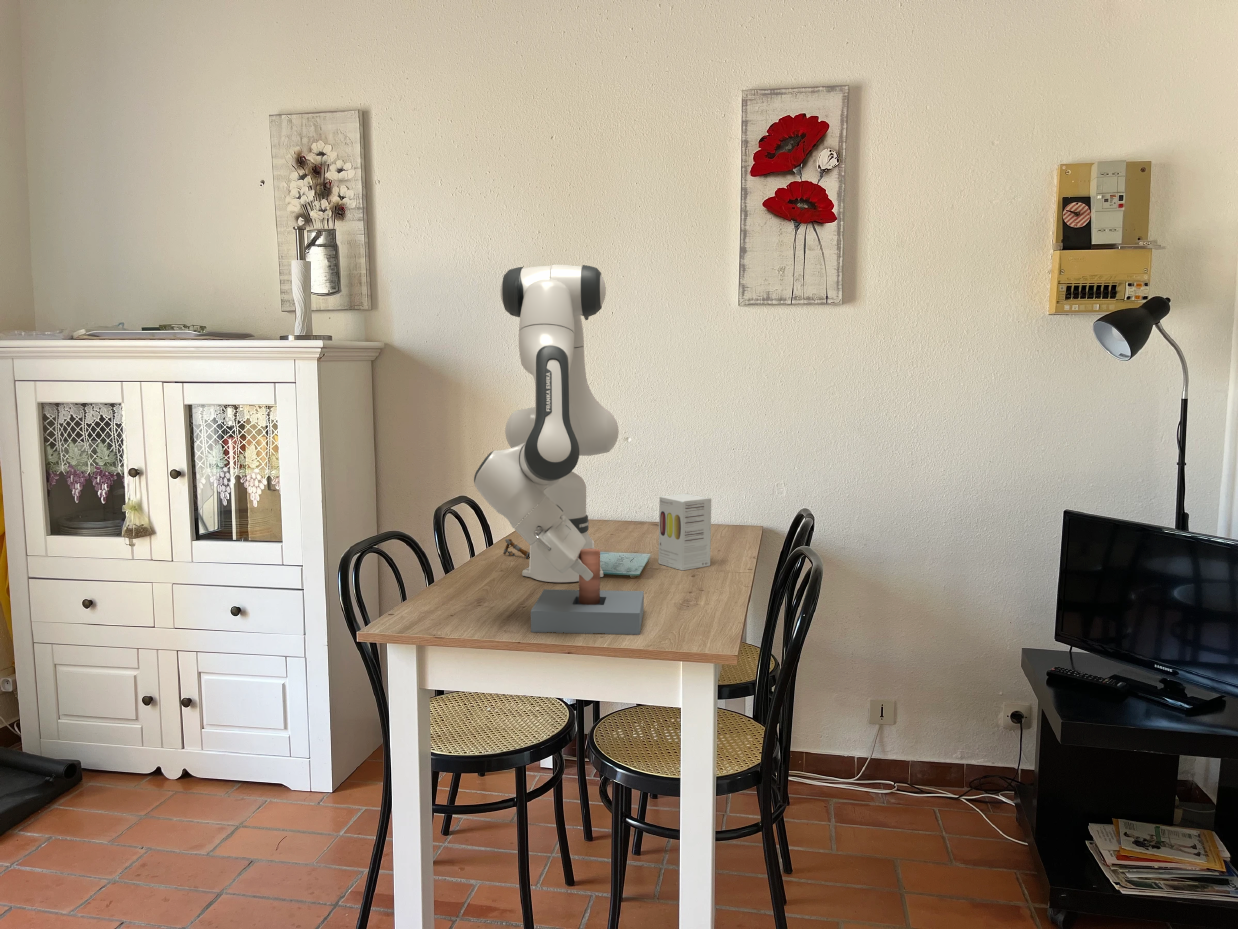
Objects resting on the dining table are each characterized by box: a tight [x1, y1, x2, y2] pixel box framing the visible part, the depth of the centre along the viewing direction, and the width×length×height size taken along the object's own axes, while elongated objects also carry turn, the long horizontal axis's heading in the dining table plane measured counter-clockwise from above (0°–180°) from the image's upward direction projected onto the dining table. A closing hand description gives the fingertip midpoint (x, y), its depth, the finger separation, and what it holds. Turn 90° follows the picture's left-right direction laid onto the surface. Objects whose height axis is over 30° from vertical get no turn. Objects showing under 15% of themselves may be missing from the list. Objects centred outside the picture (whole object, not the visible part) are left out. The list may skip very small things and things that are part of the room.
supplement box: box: [658, 493, 712, 571], centre depth 224 cm, size 10×9×17 cm
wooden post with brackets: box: [502, 538, 530, 560], centre depth 234 cm, size 2×8×4 cm, turn 62°
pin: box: [578, 548, 601, 605], centre depth 175 cm, size 4×4×10 cm
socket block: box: [530, 588, 645, 635], centre depth 176 cm, size 16×20×4 cm
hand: (592, 574), depth 175 cm, fingers closed on pin, 4 cm apart
